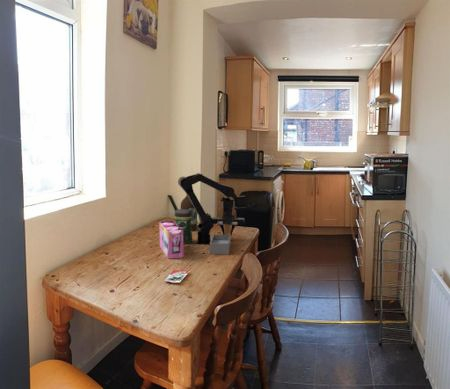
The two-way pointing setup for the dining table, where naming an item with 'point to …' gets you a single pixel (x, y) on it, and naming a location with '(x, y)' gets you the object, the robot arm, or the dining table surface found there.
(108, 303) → the dining table surface
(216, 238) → the tray
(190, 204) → the olive oil
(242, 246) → the dining table surface
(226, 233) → the peg
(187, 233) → the coffee jar
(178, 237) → the gum box
